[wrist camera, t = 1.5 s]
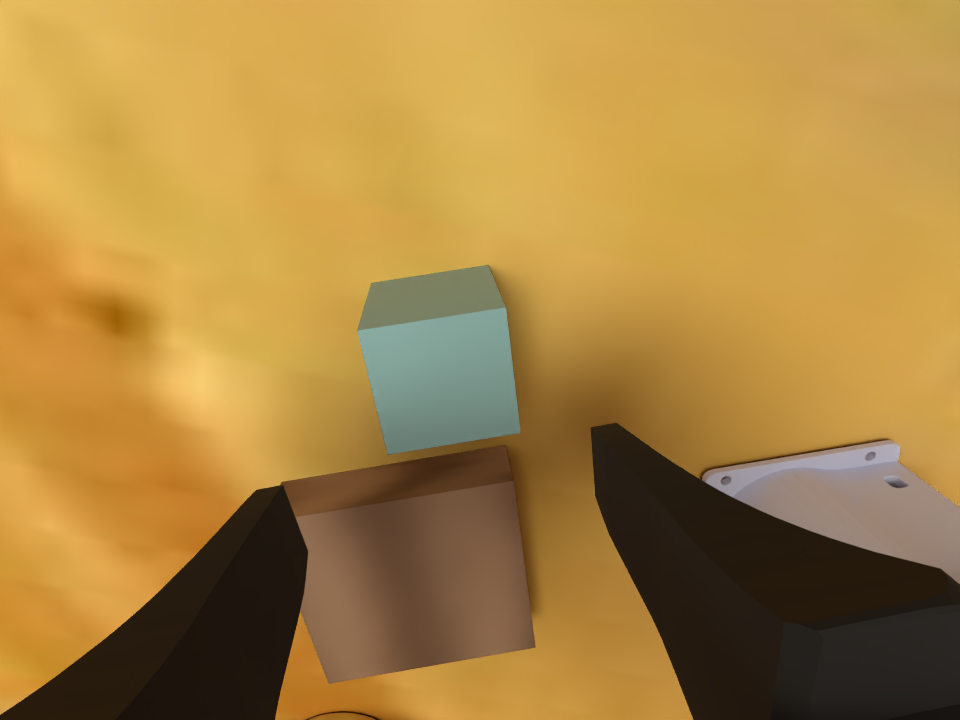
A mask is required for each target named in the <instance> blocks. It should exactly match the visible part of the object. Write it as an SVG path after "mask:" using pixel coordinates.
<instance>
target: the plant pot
mask: <svg viewBox="0 0 960 720" xmlns="http://www.w3.org/2000/svg"><path fill="white" fill-rule="evenodd" d="M308 720H375V719H373V718H371V717H368V716H364V715H360V714H355V713H329V714H324V715H319V716H316V717H313V718H311V719H308Z"/></svg>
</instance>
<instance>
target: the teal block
mask: <svg viewBox="0 0 960 720" xmlns="http://www.w3.org/2000/svg"><path fill="white" fill-rule="evenodd" d="M357 332H358V336H359V340H360V344H361V348H362V352H363V356H364V360H365V364H366V368H367V373H368V377H369V381H370V385H371V389H372V393H373V397H374V401H375V405H376V409H377V413H378V417H379V422H380V426H381V430H382V434H383V438H384V442H385V446H386V450H387V454H388V455H390V454H396V453H402V452H408V451H414V450H420V449H426V448H432V447H438V446H445V445H451V444H457V443H463V442H469V441H475V440H481V439H487V438H493V437H499V436H505V435H511V434H518V433H521V432H520V423H519V415H518V406H517V397H516V389H515V380H514V372H513V363H512V355H511V346H510V338H509V329H508V321H507V312H506V306H505V304H504V302H503V299H502V297H501V294H500V292H499V290H498V287H497V285H496V283H495V280H494V278H493V275H492V273H491V271H490V268H489V266H488V265H485V266H478V267H472V268H465V269H459V270H452V271H446V272H440V273H433V274H427V275H420V276H414V277H407V278H401V279H394V280H388V281H381V282H375V283H371V286H370V289H369V293H368V296H367V299H366V303H365V306H364V310H363V313H362V316H361V320H360V323H359V327H358V330H357Z"/></svg>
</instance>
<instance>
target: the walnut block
mask: <svg viewBox="0 0 960 720" xmlns="http://www.w3.org/2000/svg"><path fill="white" fill-rule="evenodd" d="M281 485H283V486H284V489H285V491H286V494H287V497H288V499H289V502H290V504H291V507H292V510H293V512H294V515H295V518H296V520H297V523H298V525H299V528H300V531H301V533H302V536H303V539H304V541H305V544H306V546H307V549H308V561H307V572H306V581H305V589H304V596H303V600H302V605H301V609H300V611H301V613H302V616H303V618H304V621H305V624H306V626H307V629H308V631H309V634H310V636H311V639H312V642H313V644H314V647H315V649H316V652H317V655H318V657H319V660H320V662H321V665H322V668H323V670H324V673H325V675H326V678H327V681H328V683H329V684H330V683H336V682H341V681H347V680H353V679H359V678H364V677H370V676H376V675H381V674H387V673H393V672H398V671H404V670H410V669H416V668H421V667H427V666H433V665H438V664H444V663H450V662H455V661H461V660H467V659H473V658H478V657H484V656H490V655H495V654H501V653H507V652H512V651H518V650H524V649H530V648H535V640H534V632H533V624H532V617H531V609H530V601H529V594H528V586H527V578H526V571H525V563H524V555H523V548H522V540H521V532H520V525H519V517H518V510H517V502H516V494H515V487H514V480H513V476H512V471H511V467H510V463H509V459H508V455H507V451H506V447H505V445H503V446H497V447H491V448H485V449H479V450H473V451H467V452H461V453H455V454H449V455H442V456H436V457H430V458H424V459H418V460H412V461H406V462H400V463H394V464H388V465H382V466H376V467H370V468H364V469H358V470H352V471H346V472H340V473H334V474H328V475H322V476H316V477H310V478H303V479H297V480H291V481H285V482H281Z"/></svg>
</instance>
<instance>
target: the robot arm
mask: <svg viewBox="0 0 960 720" xmlns="http://www.w3.org/2000/svg"><path fill="white" fill-rule="evenodd" d="M591 438H592V453H593V468H594V483H595V497H596V499H597V502H598V505H599V508H600V511H601V514H602V516H603V519H604V522H605V524H606V527H607V530H608V532H609V535H610V537H611V539H612V541H613V543H614V545H615V547H616V549H617V551H618V553H619V555H620V556H621V558H622V560H623V562H624V564H625V566H626V568H627V570H628V572H629V574H630V576H631V578H632V580H633V582H634V584H635V586H636V587H637V589H638V591H639V593H640V595H641V597H642V599H643V601H644V603H645V605H646V607H647V609H648V611H649V613H650V614H651V616H652V618H653V621H654V623H655V625H656V627H657V629H658V631H659V633H660V636H661V638H662V640H663V643H664V645H665V648H666V650H667V653H668V655H669V658H670V660H671V663H672V665H673V668H674V670H675V673H676V675H677V678H678V681H679V683H680V686H681V688H682V691H683V694H684V696H685V699H686V701H687V704H688V707H689V709H690V712H691V714H692V717H693V720H960V507H959V506H957V505H956V504H955V503H953V502H952V501H951V500H949V499H948V498H946V497H945V496H944V495H942V494H941V493H940V492H938V491H937V490H936V489H934V488H933V487H932V486H930V485H929V484H928V483H926V482H925V481H924V480H922V479H921V478H919V477H918V476H917V475H915V474H914V473H913V472H911V471H910V470H909V469H907V468H906V467H905V466H903V465H902V464H901V463H899V462H898V458H899V454H900V446H899V445H898V444H897V443H895V442H894V441H892V440H885V441H879V442H873V443H867V444H861V445H855V446H849V447H843V448H837V449H831V450H825V451H819V452H813V453H807V454H801V455H795V456H789V457H783V458H777V459H771V460H765V461H759V462H753V463H747V464H741V465H735V466H729V467H723V468H717V469H712V470H709V471H707V472H706V473H705V474H704V475H703V477H702V480H700V479H699V478H697V477H695V476H694V475H692V474H690V473H689V472H687V471H685V470H684V469H682V468H681V467H679V466H678V465H676V464H674V463H673V462H671V461H670V460H668V459H667V458H665V457H664V456H662V455H661V454H659V453H658V452H657V451H655V450H654V449H652V448H651V447H649V446H648V445H647V444H645V443H644V442H642V441H641V440H640V439H638V438H637V437H635V436H634V435H633V434H631V433H630V432H629V431H627V430H626V429H624V428H623V427H622V426H620V425H619V424H617V423H613V424H607V425H602V426H597V427H591ZM725 476H727V477H726V478H725V479H723V480H721V479H722V478H723V477H725ZM307 561H308V549H307V546H306V544H305V541H304V539H303V536H302V533H301V531H300V528H299V525H298V523H297V520H296V518H295V515H294V512H293V510H292V507H291V504H290V502H289V499H288V497H287V494H286V491H285V489H284V486H283V485H280V486H275V487H270V488H264V489H259V490H256V491H255V492H254V493H253V494H252V495H251V496H250V497H249V498H248V499H247V500H246V501H245V502H244V503H243V504H242V505H241V506H240V508H239V509H238V510H237V511H236V512H235V513H234V514H233V515H232V516H231V517H230V519H229V520H228V521H227V522H226V523H225V524H224V525H223V526H222V527H221V528H220V529H219V531H218V532H217V533H216V534H215V535H214V536H213V537H212V538H211V539H210V540H209V541H208V542H207V543H206V545H205V546H204V547H203V548H202V549H201V550H200V551H199V552H198V553H197V554H196V555H195V556H194V557H193V558H192V559H191V560H190V561H189V562H188V563H187V564H186V565H185V566H184V567H183V568H182V569H181V570H180V571H179V572H178V573H177V574H176V575H175V576H174V577H173V578H172V579H171V580H170V581H169V582H168V583H167V584H166V585H165V586H164V587H163V588H162V589H161V590H160V591H159V592H158V593H157V594H156V595H155V596H154V597H153V598H152V599H151V600H150V601H149V602H147V603H146V604H145V605H144V606H143V607H142V608H141V609H140V610H139V611H137V612H136V613H135V614H134V615H133V616H132V617H130V618H129V619H128V620H127V621H126V622H125V623H123V624H122V625H121V626H120V627H119V628H118V629H116V630H115V631H114V632H113V633H112V634H110V635H109V636H108V637H107V638H106V639H104V640H103V641H102V642H100V643H99V644H98V645H97V646H95V647H94V648H93V649H91V650H90V651H89V652H87V653H86V654H85V655H84V656H82V657H81V658H80V659H78V660H77V661H76V662H74V663H73V664H72V665H71V666H69V667H68V668H67V669H65V670H64V671H63V672H61V673H60V674H59V675H57V676H56V677H55V678H53V679H52V680H51V681H49V682H48V683H46V684H45V685H43V686H42V687H41V688H39V689H38V690H36V691H35V692H34V693H32V694H31V695H29V696H28V697H26V698H25V699H24V700H22V701H21V702H19V703H18V704H16V705H15V706H13V707H12V708H10V709H9V710H7V711H6V712H4V713H3V714H1V715H0V720H275V716H276V711H277V706H278V701H279V696H280V691H281V687H282V683H283V679H284V675H285V671H286V666H287V662H288V658H289V654H290V650H291V646H292V642H293V638H294V634H295V630H296V626H297V622H298V617H299V613H300V609H301V605H302V600H303V596H304V589H305V581H306V572H307Z"/></svg>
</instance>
